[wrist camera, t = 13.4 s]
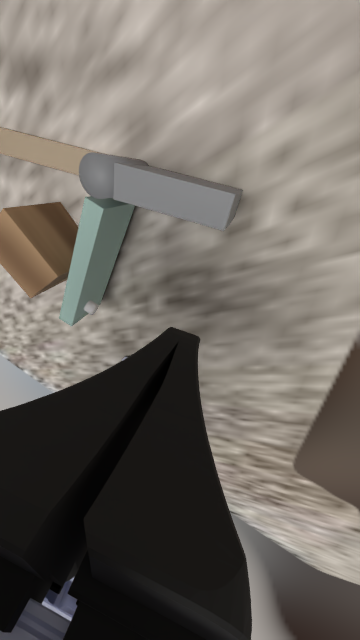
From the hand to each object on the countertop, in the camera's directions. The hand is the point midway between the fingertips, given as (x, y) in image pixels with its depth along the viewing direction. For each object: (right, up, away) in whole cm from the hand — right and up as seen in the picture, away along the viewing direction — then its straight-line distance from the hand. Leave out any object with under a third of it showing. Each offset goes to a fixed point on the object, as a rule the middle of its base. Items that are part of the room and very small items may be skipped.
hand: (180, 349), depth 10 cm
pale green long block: (-6, +6, +9) cm, 13 cm away
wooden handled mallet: (-6, +12, +6) cm, 15 cm away
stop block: (-10, +8, +10) cm, 16 cm away
